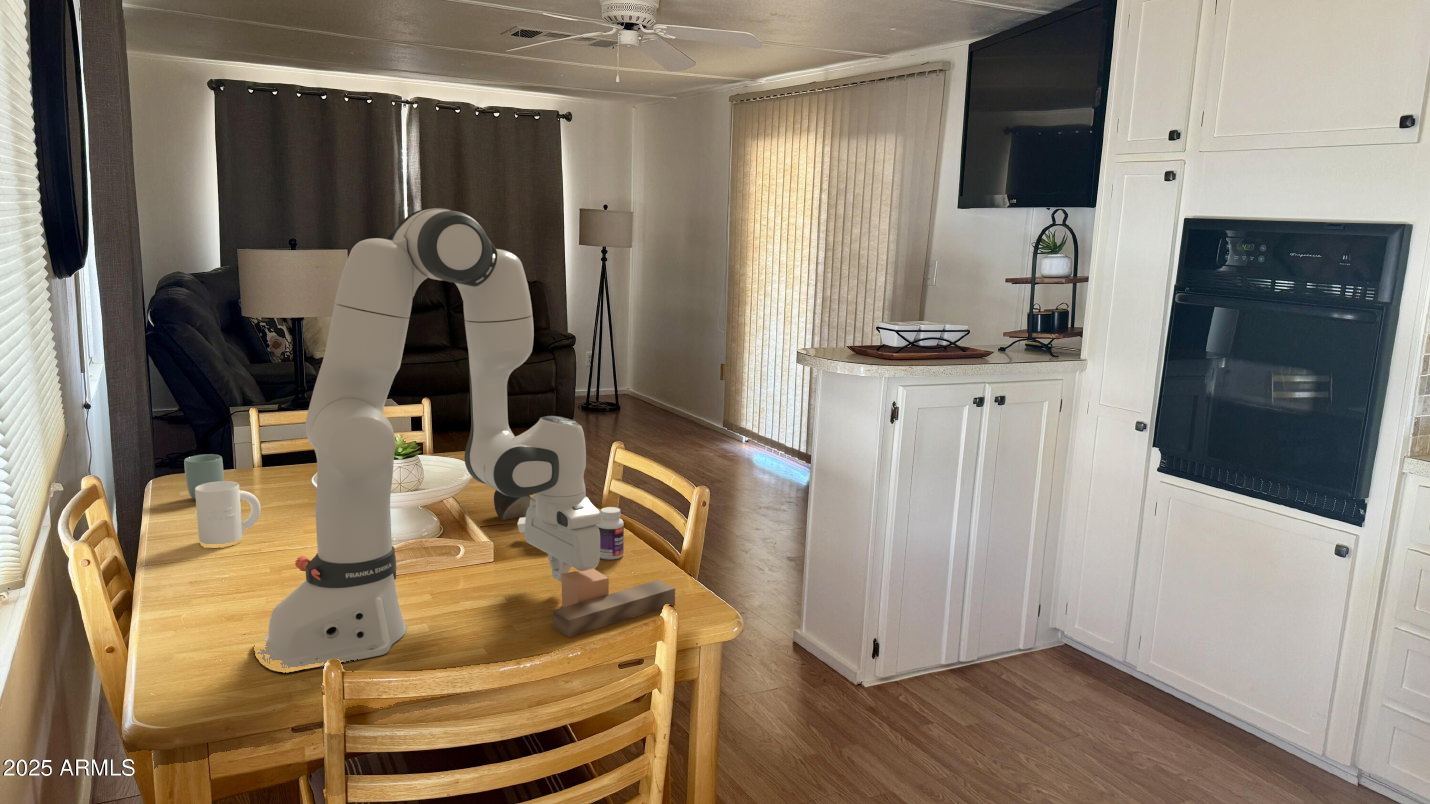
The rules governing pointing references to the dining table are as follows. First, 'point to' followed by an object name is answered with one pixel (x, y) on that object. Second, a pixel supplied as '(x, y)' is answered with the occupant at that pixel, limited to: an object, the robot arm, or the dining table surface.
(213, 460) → the cup
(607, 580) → the block
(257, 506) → the mug
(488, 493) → the dining table surface
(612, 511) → the pill bottle
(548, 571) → the dining table surface
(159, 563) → the dining table surface
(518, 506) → the stone
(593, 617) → the board
